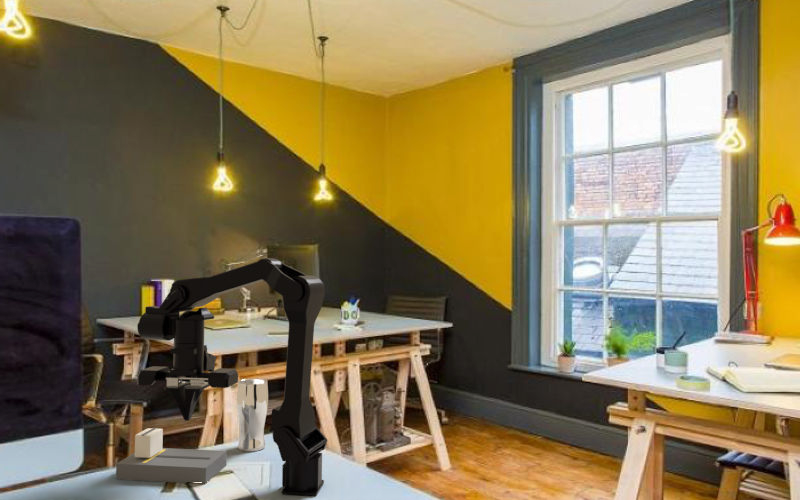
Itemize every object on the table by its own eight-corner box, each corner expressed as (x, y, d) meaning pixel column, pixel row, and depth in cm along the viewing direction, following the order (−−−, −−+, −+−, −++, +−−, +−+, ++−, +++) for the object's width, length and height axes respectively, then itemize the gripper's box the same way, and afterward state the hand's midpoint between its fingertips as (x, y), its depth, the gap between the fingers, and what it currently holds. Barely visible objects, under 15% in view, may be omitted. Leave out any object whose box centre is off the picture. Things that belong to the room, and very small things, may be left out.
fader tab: (162, 449, 119) (163, 427, 119) (149, 457, 114) (150, 435, 114) (147, 449, 120) (148, 427, 120) (134, 457, 115) (135, 434, 115)
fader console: (226, 465, 120) (226, 450, 120) (205, 483, 110) (205, 467, 111) (143, 461, 122) (144, 446, 122) (116, 479, 112) (116, 463, 112)
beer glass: (256, 440, 137) (257, 376, 137) (273, 447, 132) (274, 381, 133) (229, 447, 132) (231, 381, 132) (246, 454, 127) (247, 385, 128)
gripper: (248, 337, 124) (247, 411, 123) (164, 335, 126) (163, 408, 125) (227, 345, 113) (226, 426, 112) (136, 342, 114) (134, 422, 114)
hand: (187, 420), depth 116 cm, fingers closed
